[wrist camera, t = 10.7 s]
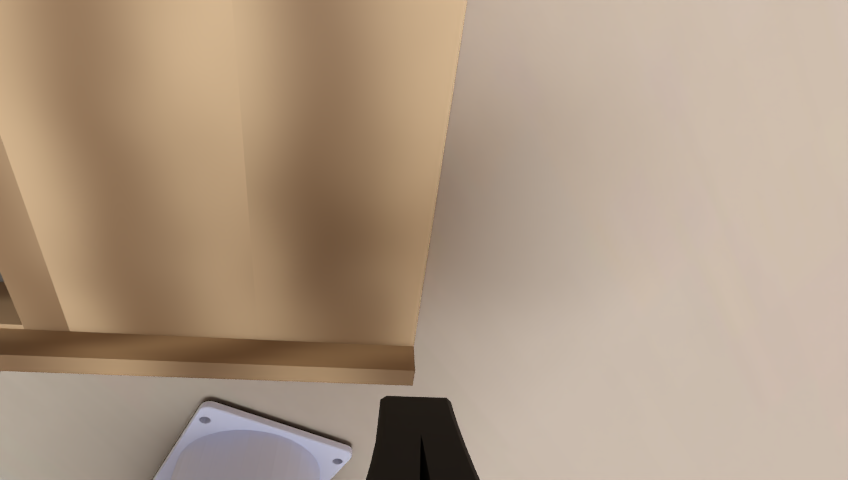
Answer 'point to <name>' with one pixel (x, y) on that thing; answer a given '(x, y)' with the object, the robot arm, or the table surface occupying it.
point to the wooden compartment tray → (220, 184)
